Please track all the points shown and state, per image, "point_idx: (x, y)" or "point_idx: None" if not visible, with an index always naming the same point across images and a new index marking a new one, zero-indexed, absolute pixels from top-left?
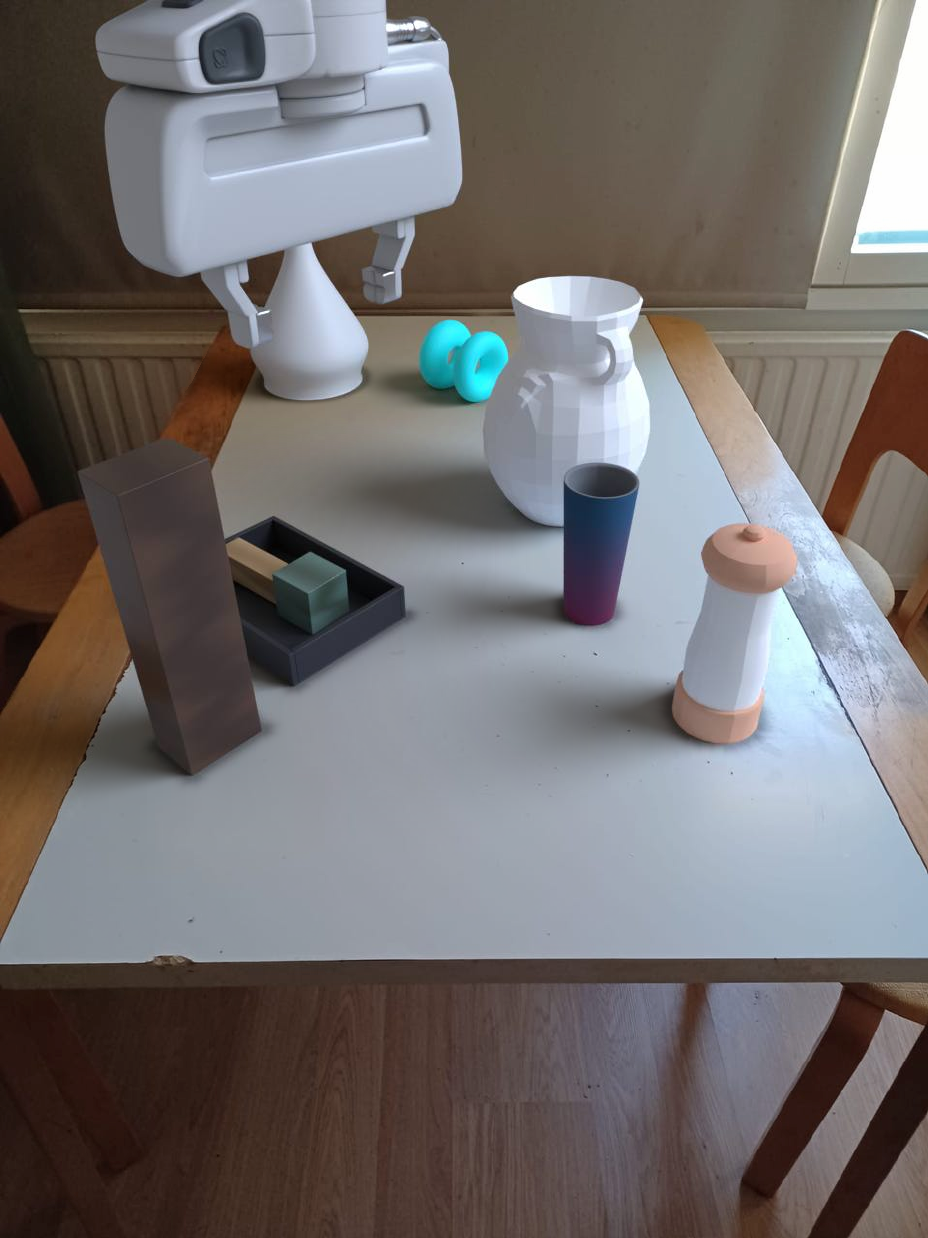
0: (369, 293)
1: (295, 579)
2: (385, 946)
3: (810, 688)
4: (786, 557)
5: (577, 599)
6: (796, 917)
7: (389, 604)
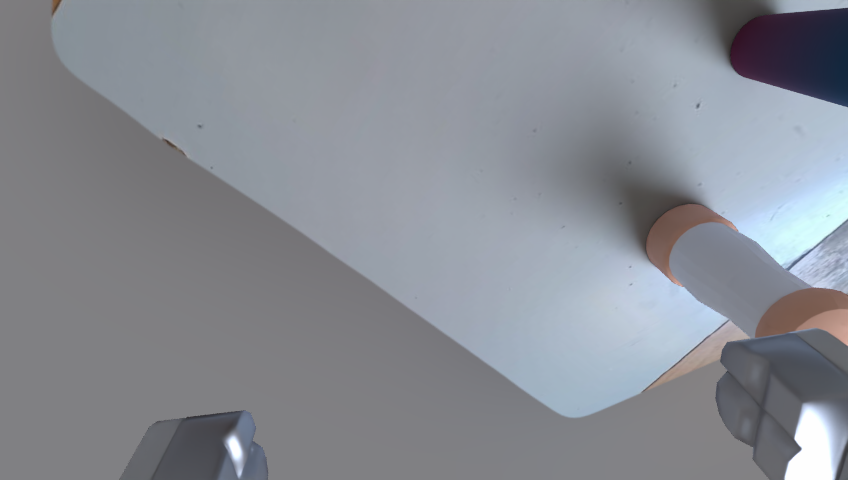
0: (738, 372)
1: None
2: (319, 239)
3: None
4: None
5: (753, 58)
6: (543, 376)
7: None
